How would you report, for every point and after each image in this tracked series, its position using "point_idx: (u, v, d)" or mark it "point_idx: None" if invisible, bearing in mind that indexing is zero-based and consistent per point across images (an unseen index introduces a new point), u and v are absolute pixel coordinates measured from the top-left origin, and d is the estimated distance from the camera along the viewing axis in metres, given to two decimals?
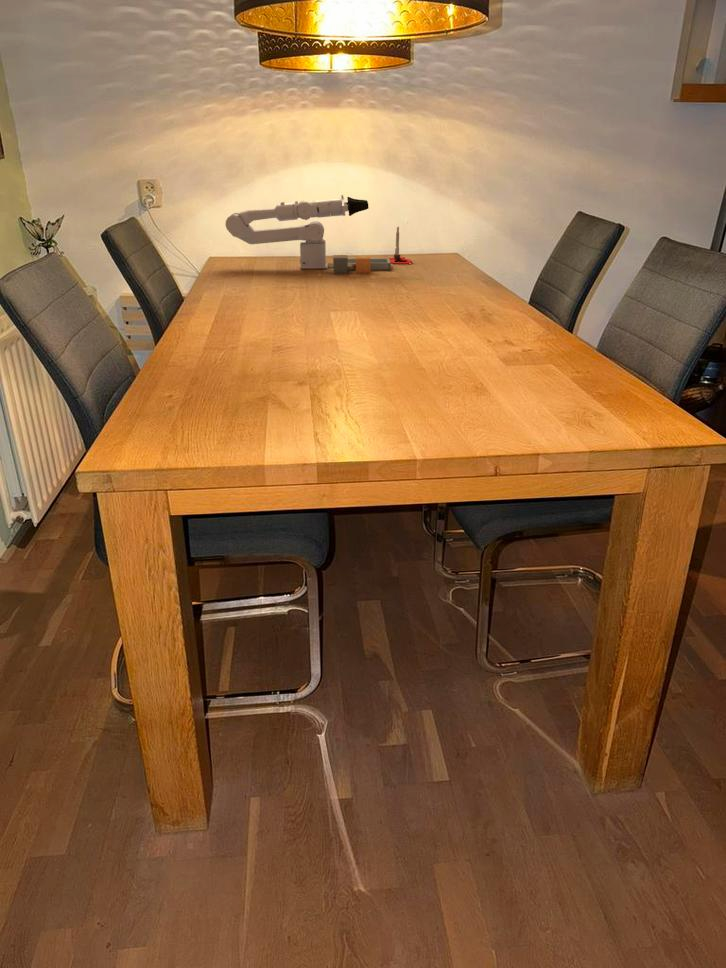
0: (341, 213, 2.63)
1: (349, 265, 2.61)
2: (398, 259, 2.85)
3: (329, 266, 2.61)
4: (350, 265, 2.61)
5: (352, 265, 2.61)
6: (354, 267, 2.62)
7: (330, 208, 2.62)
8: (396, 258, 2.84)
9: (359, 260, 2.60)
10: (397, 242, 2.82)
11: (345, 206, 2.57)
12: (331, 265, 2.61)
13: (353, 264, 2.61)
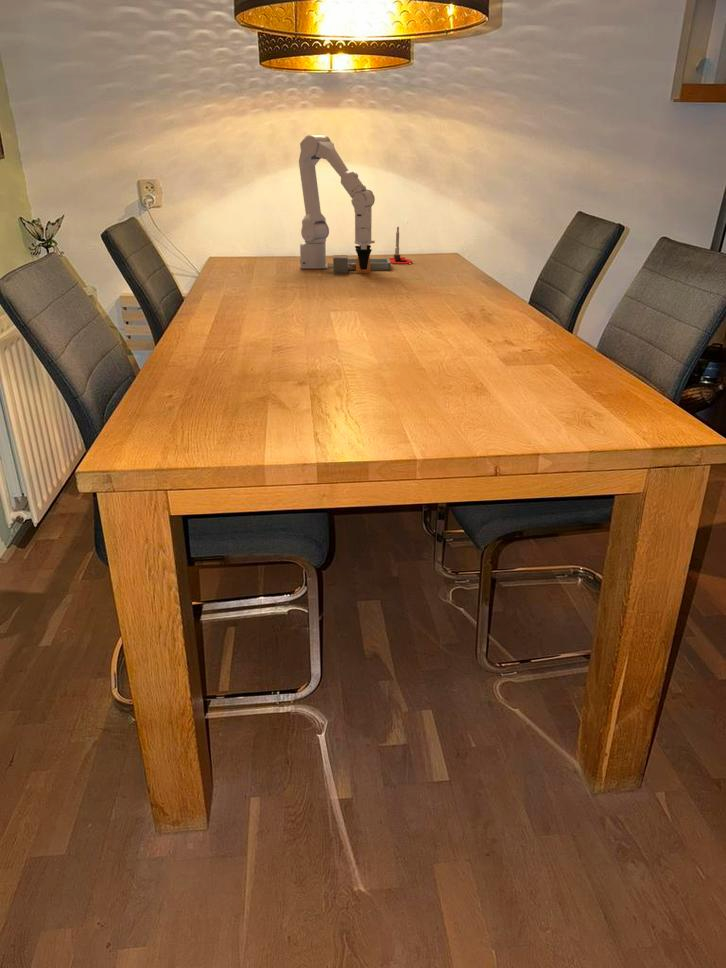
0: (357, 240, 2.57)
1: (349, 265, 2.61)
2: (398, 259, 2.85)
3: (329, 266, 2.61)
4: (350, 265, 2.61)
5: (352, 265, 2.61)
6: (354, 267, 2.62)
7: (363, 229, 2.54)
8: (396, 258, 2.84)
9: None
10: (397, 242, 2.82)
11: (365, 247, 2.53)
12: (331, 265, 2.61)
13: (353, 264, 2.61)
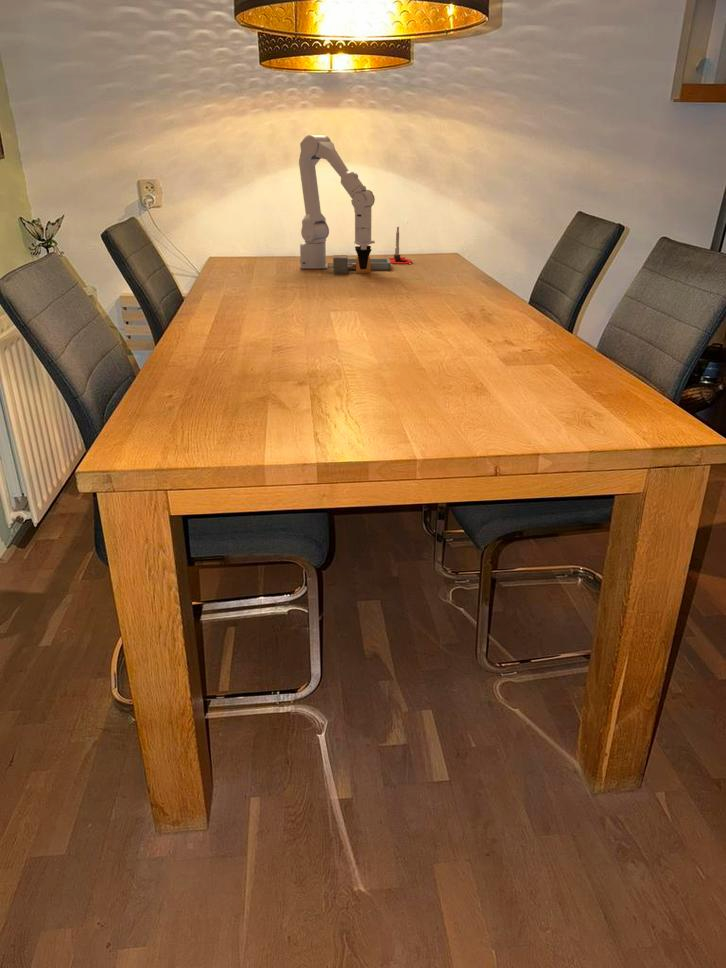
0: (357, 240, 2.57)
1: (349, 265, 2.61)
2: (398, 259, 2.85)
3: (329, 266, 2.61)
4: (350, 265, 2.61)
5: (352, 265, 2.61)
6: (354, 267, 2.62)
7: (363, 229, 2.54)
8: (396, 258, 2.84)
9: None
10: (398, 242, 2.82)
11: (365, 247, 2.53)
12: (331, 265, 2.61)
13: (353, 264, 2.61)
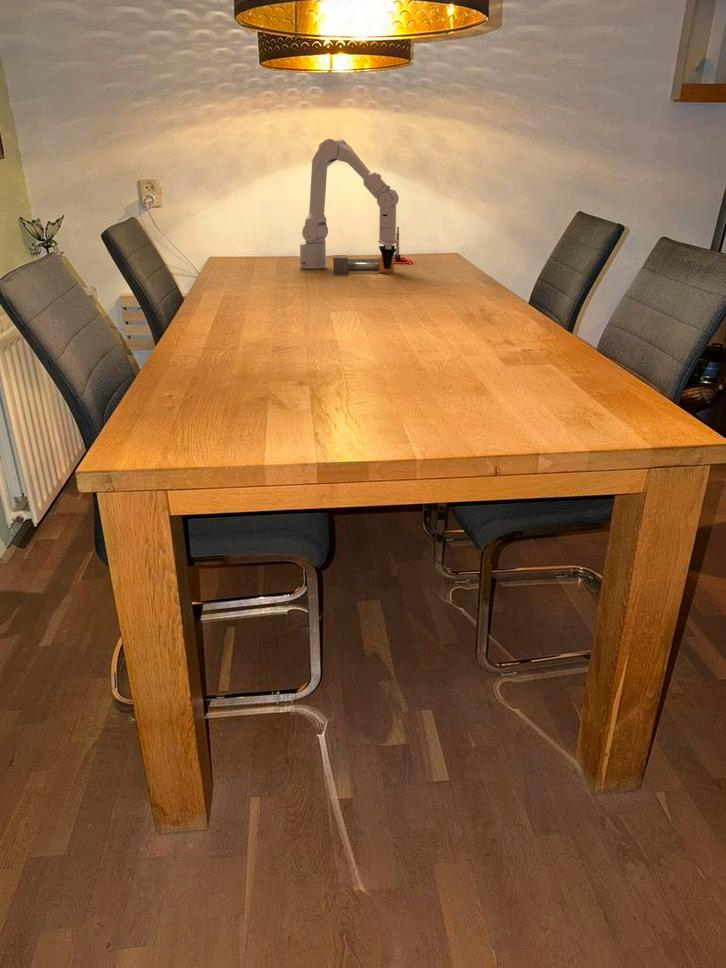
0: (381, 239, 2.57)
1: (372, 264, 2.62)
2: (398, 259, 2.85)
3: (352, 266, 2.61)
4: (373, 264, 2.62)
5: (375, 264, 2.61)
6: (377, 266, 2.62)
7: (388, 228, 2.55)
8: (396, 258, 2.84)
9: (382, 259, 2.60)
10: None
11: (390, 246, 2.53)
12: (354, 264, 2.61)
13: (376, 264, 2.62)
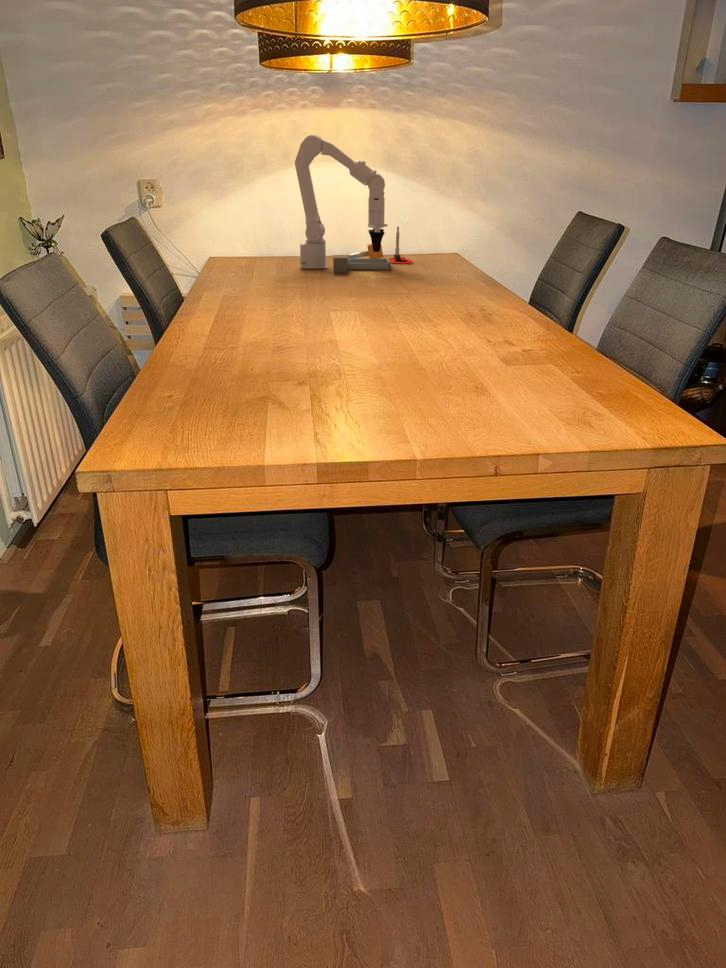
0: (371, 223, 2.63)
1: (362, 253, 2.69)
2: (398, 259, 2.85)
3: None
4: (363, 253, 2.69)
5: (364, 253, 2.69)
6: (367, 255, 2.69)
7: (377, 212, 2.61)
8: (396, 258, 2.84)
9: (370, 247, 2.67)
10: (398, 242, 2.82)
11: (379, 230, 2.59)
12: None
13: (366, 252, 2.69)
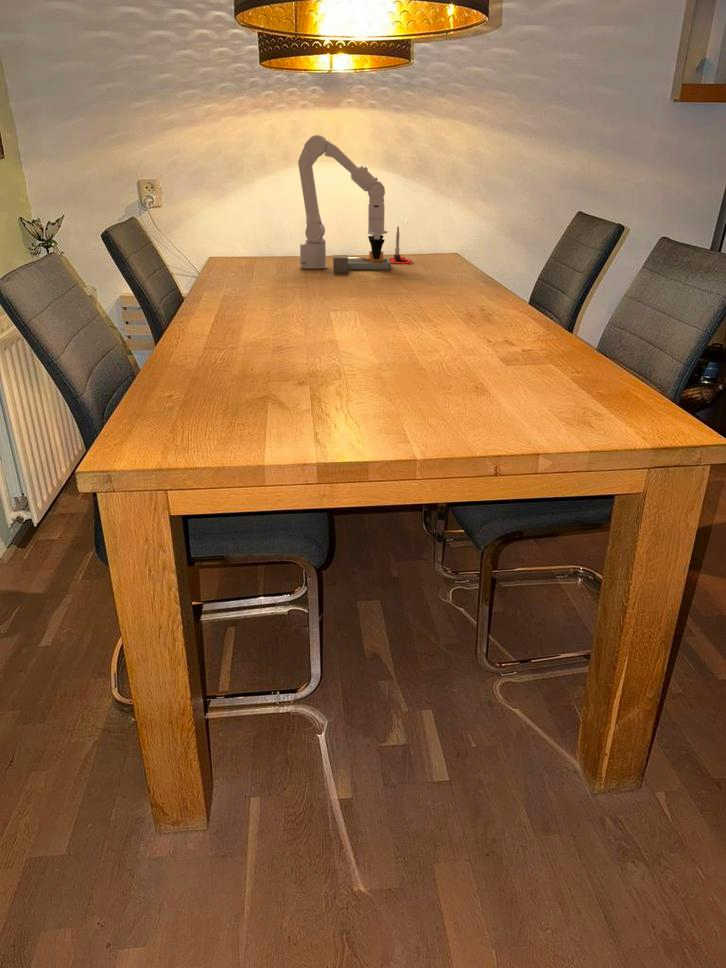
0: (370, 230, 2.64)
1: (363, 259, 2.70)
2: (398, 259, 2.85)
3: None
4: (364, 259, 2.70)
5: (365, 259, 2.70)
6: (367, 261, 2.70)
7: (376, 219, 2.62)
8: (396, 258, 2.84)
9: (372, 254, 2.68)
10: (398, 242, 2.82)
11: (378, 237, 2.60)
12: None
13: (367, 258, 2.70)
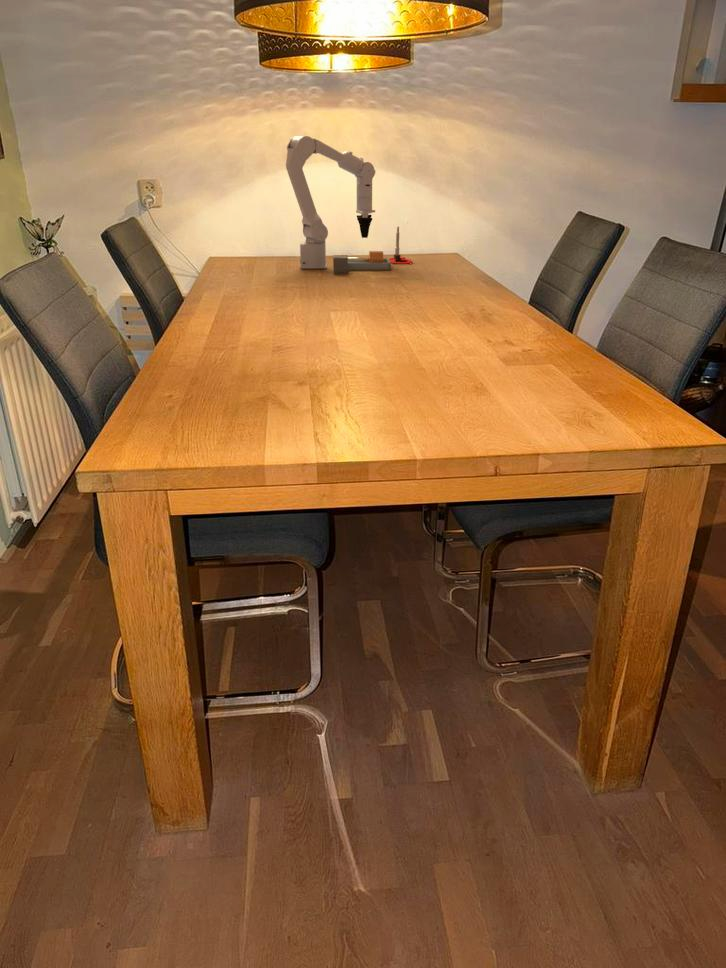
0: (359, 209, 2.70)
1: (363, 259, 2.70)
2: (398, 259, 2.85)
3: None
4: (364, 259, 2.70)
5: (365, 259, 2.70)
6: (367, 261, 2.70)
7: (364, 198, 2.68)
8: (396, 258, 2.84)
9: (372, 254, 2.68)
10: (398, 242, 2.82)
11: (366, 215, 2.66)
12: None
13: (367, 258, 2.70)
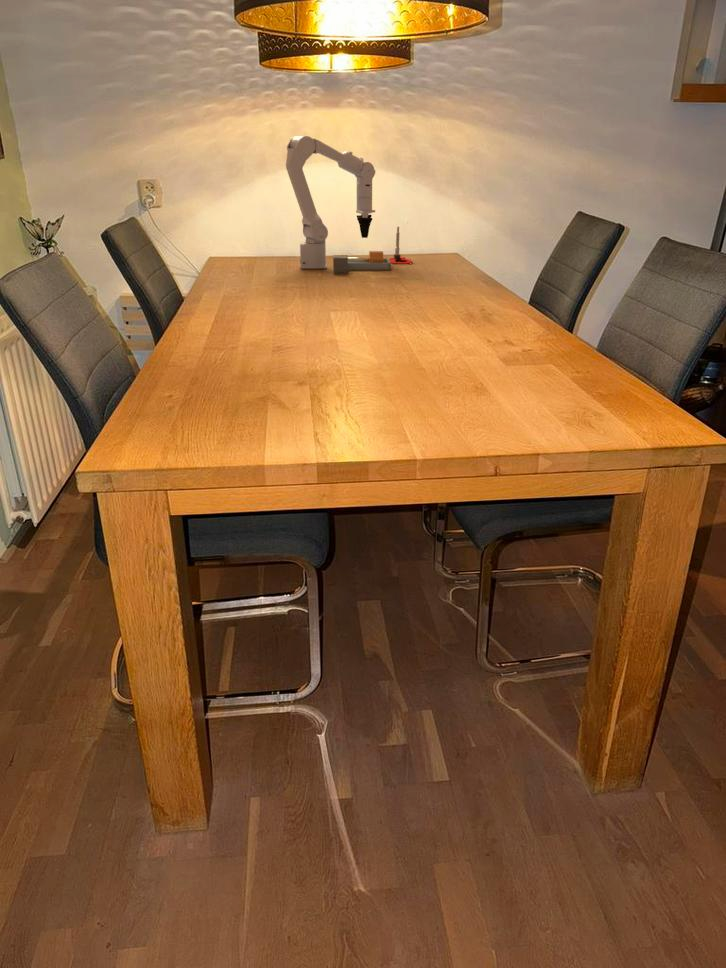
0: (359, 209, 2.70)
1: (363, 259, 2.70)
2: (398, 259, 2.85)
3: None
4: (364, 259, 2.70)
5: (365, 259, 2.70)
6: (367, 261, 2.70)
7: (364, 198, 2.68)
8: (396, 258, 2.84)
9: (372, 254, 2.68)
10: (398, 242, 2.82)
11: (366, 215, 2.66)
12: None
13: (367, 258, 2.70)
